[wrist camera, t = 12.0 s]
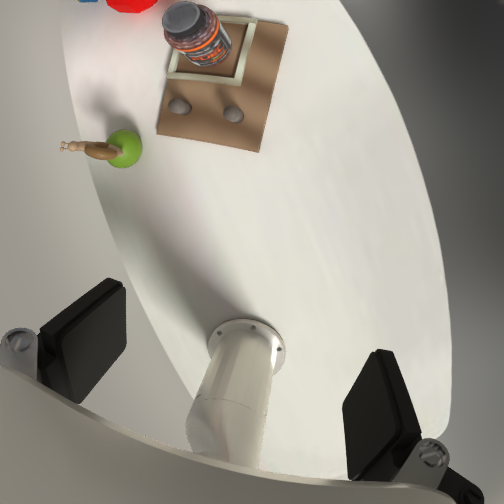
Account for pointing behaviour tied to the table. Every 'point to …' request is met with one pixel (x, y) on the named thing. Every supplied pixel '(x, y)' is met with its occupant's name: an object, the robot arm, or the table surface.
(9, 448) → the robot arm
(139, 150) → the snail figurine
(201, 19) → the supplement bottle
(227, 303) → the table surface
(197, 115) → the pin board
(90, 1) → the ornament
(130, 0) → the ball
